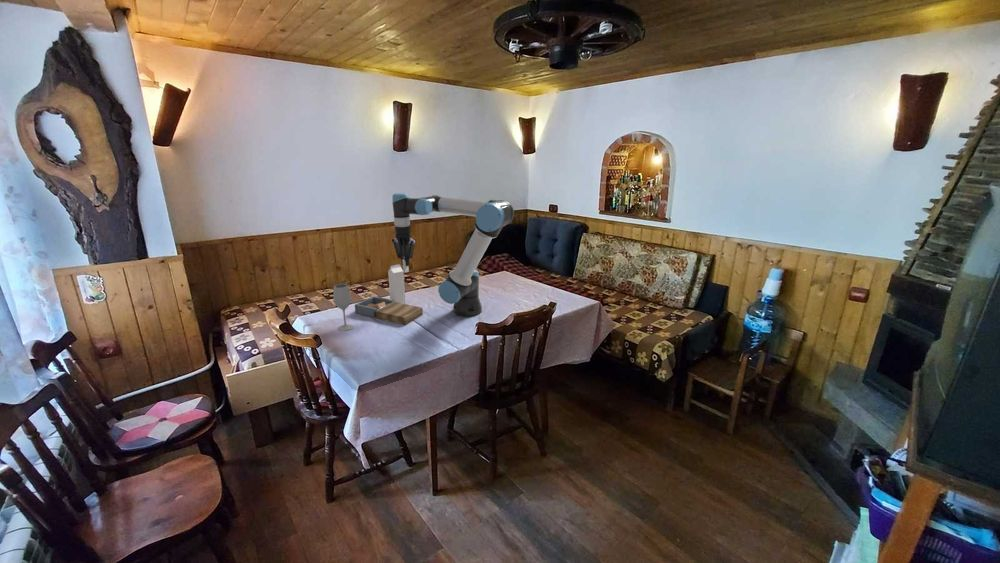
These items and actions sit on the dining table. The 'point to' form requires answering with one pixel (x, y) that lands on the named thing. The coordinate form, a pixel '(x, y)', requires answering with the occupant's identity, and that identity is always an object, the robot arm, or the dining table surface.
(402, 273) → the milk
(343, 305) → the wineglass
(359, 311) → the tray
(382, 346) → the dining table surface
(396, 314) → the board
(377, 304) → the tile
